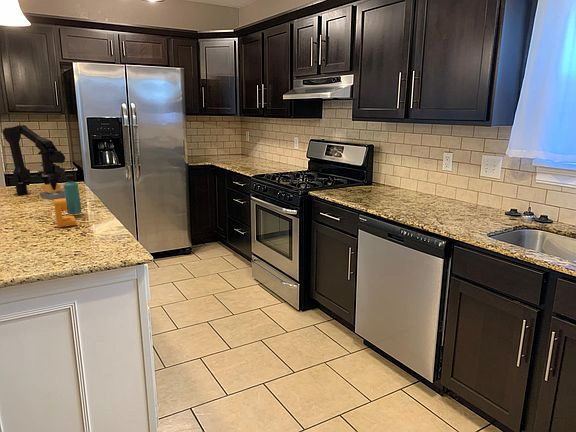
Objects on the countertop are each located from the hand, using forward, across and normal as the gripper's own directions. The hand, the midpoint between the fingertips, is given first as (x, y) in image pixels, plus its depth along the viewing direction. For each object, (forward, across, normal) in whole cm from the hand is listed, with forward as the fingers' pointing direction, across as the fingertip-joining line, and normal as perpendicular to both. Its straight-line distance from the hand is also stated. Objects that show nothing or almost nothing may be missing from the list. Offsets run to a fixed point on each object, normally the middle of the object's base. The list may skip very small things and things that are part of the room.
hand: (51, 189), depth 247 cm
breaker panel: (+5, 0, -2) cm, 5 cm away
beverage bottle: (+5, -54, +13) cm, 56 cm away
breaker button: (+4, 0, 0) cm, 4 cm away
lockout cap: (+1, 0, 0) cm, 1 cm away
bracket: (+5, -67, +23) cm, 71 cm away
